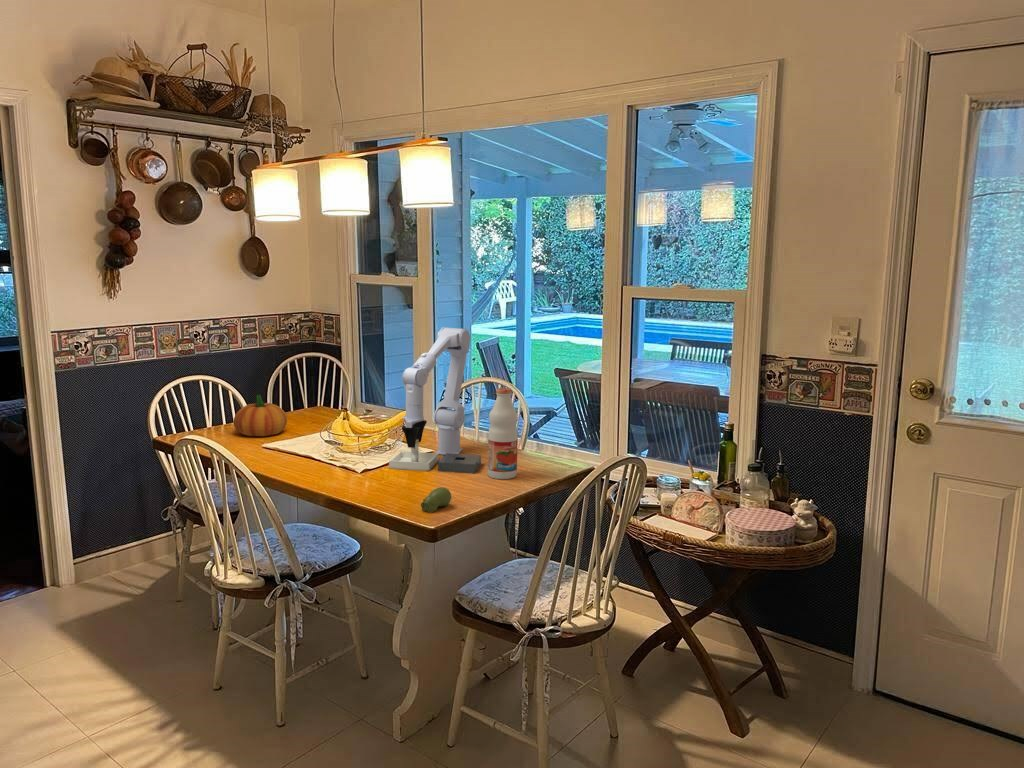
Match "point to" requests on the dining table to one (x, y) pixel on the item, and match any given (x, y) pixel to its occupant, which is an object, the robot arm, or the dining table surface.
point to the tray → (404, 462)
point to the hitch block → (459, 463)
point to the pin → (415, 452)
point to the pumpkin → (260, 419)
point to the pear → (436, 499)
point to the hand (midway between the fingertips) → (414, 444)
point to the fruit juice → (502, 437)
